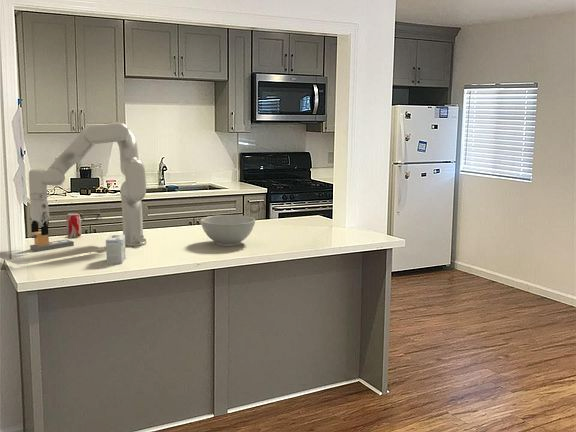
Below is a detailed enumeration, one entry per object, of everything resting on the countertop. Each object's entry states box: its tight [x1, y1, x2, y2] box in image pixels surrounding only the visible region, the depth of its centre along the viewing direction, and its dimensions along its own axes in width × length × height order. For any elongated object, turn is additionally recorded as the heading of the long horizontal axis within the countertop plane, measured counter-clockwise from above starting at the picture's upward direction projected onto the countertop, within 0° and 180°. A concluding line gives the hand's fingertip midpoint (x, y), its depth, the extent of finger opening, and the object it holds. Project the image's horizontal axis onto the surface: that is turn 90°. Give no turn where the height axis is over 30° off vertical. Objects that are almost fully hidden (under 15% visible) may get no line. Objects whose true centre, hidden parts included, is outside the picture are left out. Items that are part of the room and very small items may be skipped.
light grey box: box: [105, 234, 127, 265], centre depth 285 cm, size 11×7×11 cm, turn 5°
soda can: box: [65, 212, 82, 239], centre depth 335 cm, size 7×7×12 cm
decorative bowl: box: [200, 214, 256, 247], centre depth 320 cm, size 27×27×12 cm
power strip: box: [29, 239, 75, 253], centre depth 305 cm, size 7×18×4 cm, turn 136°
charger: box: [30, 230, 50, 247], centre depth 300 cm, size 4×7×8 cm, turn 136°
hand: (39, 233), depth 300 cm, fingers open, 9 cm apart
